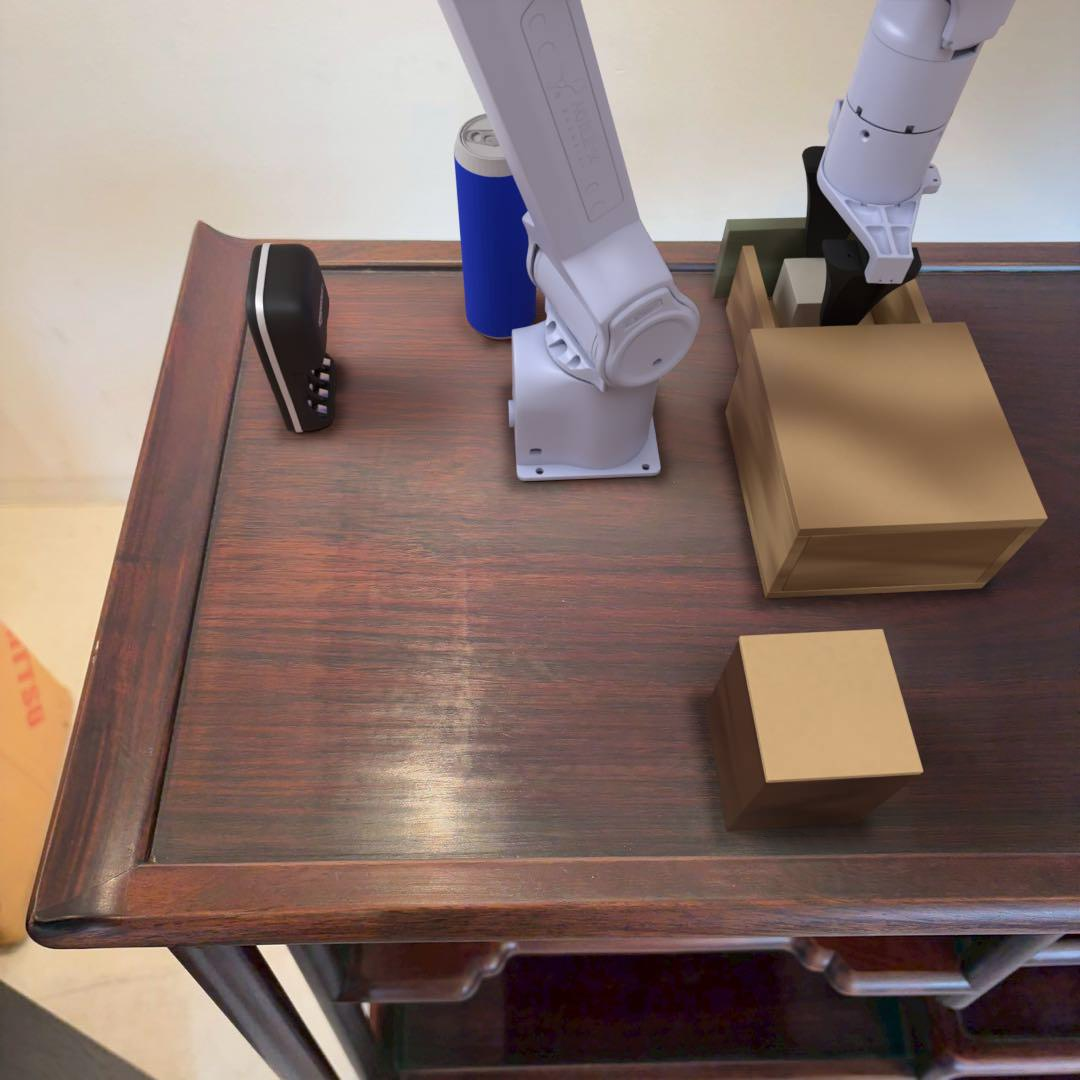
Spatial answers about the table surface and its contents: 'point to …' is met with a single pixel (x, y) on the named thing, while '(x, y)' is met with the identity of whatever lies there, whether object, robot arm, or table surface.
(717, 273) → the drawer
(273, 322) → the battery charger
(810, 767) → the coaster
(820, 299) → the block
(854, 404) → the cabinet
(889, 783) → the stand
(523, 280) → the beverage can
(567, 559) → the table surface
